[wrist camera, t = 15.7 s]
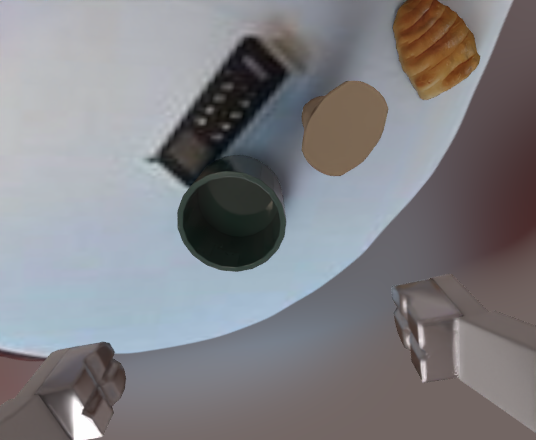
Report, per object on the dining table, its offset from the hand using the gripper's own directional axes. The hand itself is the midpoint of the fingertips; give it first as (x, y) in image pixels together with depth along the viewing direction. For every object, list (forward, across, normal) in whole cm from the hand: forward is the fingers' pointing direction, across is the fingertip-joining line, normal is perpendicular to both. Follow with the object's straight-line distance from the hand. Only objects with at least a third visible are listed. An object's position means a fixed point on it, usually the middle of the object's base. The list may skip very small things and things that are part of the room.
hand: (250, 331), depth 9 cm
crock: (+31, +4, +6) cm, 32 cm away
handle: (+31, -6, -2) cm, 32 cm away
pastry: (+31, -19, -5) cm, 36 cm away
